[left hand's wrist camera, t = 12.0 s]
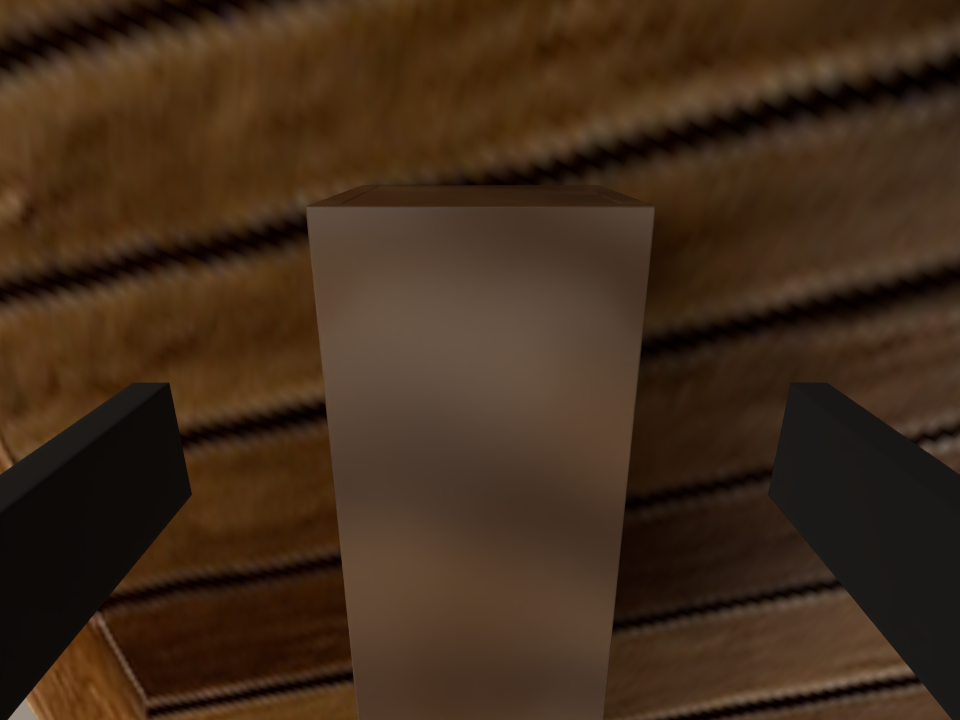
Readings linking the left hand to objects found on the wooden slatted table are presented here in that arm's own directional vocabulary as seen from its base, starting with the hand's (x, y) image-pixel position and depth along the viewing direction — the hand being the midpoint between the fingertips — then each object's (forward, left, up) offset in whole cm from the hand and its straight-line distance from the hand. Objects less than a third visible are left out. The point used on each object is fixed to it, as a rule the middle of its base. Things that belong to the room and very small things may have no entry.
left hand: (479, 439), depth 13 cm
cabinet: (+2, +6, -14) cm, 15 cm away
